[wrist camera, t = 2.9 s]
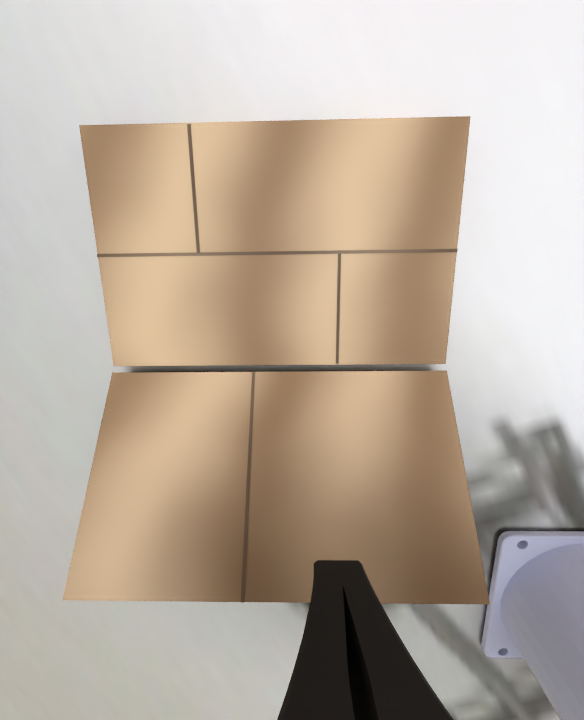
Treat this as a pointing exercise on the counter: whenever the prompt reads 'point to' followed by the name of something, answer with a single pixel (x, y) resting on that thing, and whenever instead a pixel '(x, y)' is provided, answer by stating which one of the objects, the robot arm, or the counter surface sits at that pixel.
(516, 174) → the counter surface
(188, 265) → the laid floor boards
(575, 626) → the robot arm
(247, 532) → the click plank
